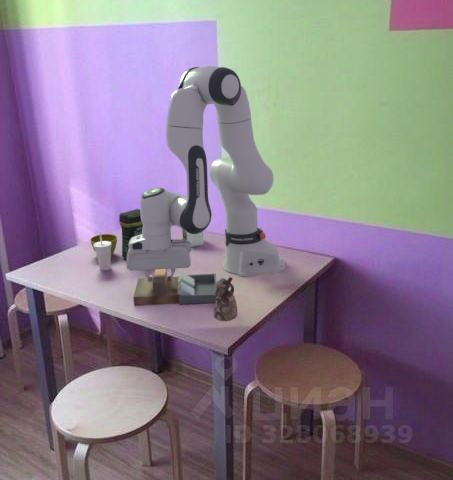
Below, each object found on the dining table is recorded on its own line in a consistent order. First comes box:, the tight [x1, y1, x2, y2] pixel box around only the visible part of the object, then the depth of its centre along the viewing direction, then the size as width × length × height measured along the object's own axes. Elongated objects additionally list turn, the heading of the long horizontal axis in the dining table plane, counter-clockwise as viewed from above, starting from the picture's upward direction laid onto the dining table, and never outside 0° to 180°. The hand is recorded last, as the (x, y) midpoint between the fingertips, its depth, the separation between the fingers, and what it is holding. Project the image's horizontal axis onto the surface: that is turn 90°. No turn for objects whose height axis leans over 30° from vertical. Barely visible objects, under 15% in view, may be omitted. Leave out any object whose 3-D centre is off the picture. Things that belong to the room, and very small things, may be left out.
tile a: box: [178, 272, 195, 288], centre depth 172 cm, size 5×5×2 cm
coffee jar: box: [118, 208, 143, 260], centre depth 198 cm, size 10×8×19 cm
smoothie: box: [94, 231, 112, 272], centre depth 189 cm, size 6×6×14 cm
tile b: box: [177, 282, 194, 296], centre depth 165 cm, size 5×5×2 cm
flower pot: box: [90, 233, 118, 257], centre depth 202 cm, size 10×10×7 cm
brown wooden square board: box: [132, 276, 180, 307], centre depth 169 cm, size 14×14×3 cm
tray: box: [178, 273, 217, 306], centre depth 169 cm, size 12×16×3 cm
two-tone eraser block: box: [152, 269, 168, 296], centre depth 168 cm, size 4×14×5 cm, turn 3°
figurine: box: [213, 276, 238, 322], centre depth 153 cm, size 7×7×12 cm
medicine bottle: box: [181, 228, 205, 248], centre depth 211 cm, size 7×7×12 cm
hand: (160, 280), depth 168 cm, fingers open, 5 cm apart
